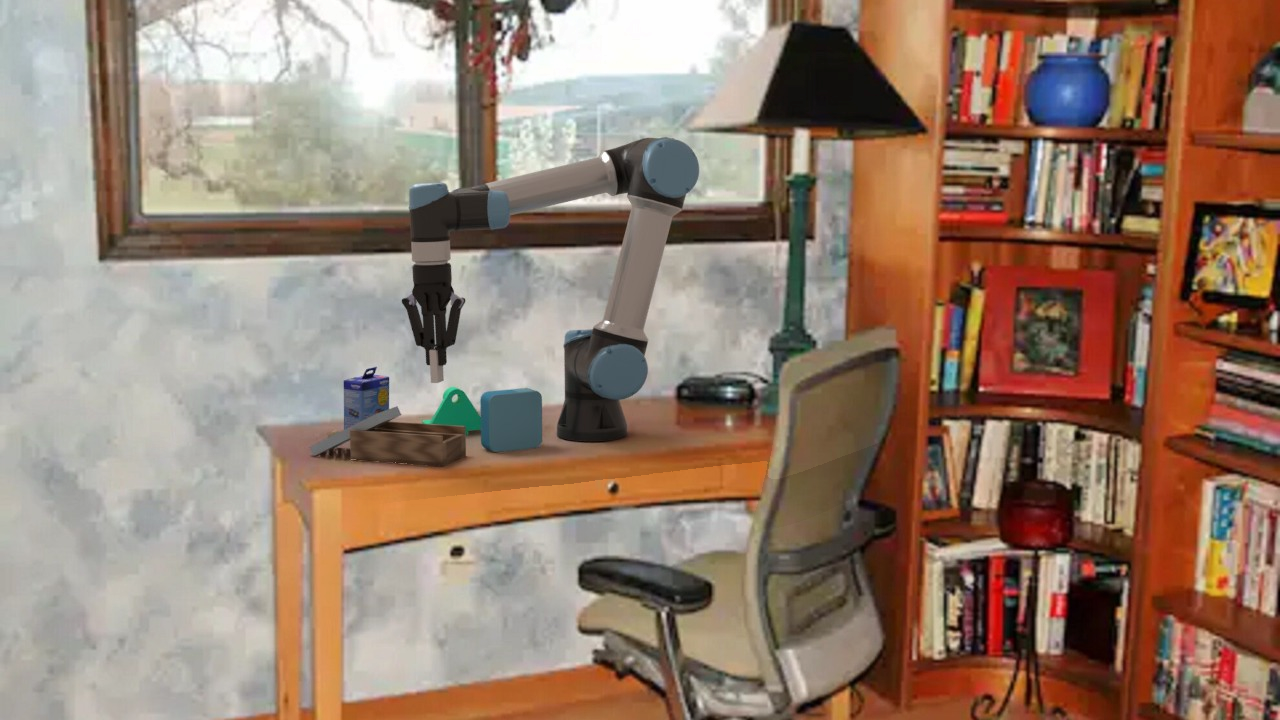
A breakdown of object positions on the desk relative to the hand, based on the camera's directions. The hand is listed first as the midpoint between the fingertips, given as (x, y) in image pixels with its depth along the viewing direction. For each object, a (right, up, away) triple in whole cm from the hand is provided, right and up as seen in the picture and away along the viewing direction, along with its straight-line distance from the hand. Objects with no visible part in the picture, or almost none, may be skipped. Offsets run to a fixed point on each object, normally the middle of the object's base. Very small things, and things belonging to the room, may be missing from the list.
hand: (437, 381), depth 303 cm
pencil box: (-6, -15, +4) cm, 17 cm away
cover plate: (-17, -11, +7) cm, 21 cm away
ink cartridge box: (-19, -12, +29) cm, 37 cm away
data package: (+14, -14, +13) cm, 24 cm away
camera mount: (-1, -12, +30) cm, 32 cm away
